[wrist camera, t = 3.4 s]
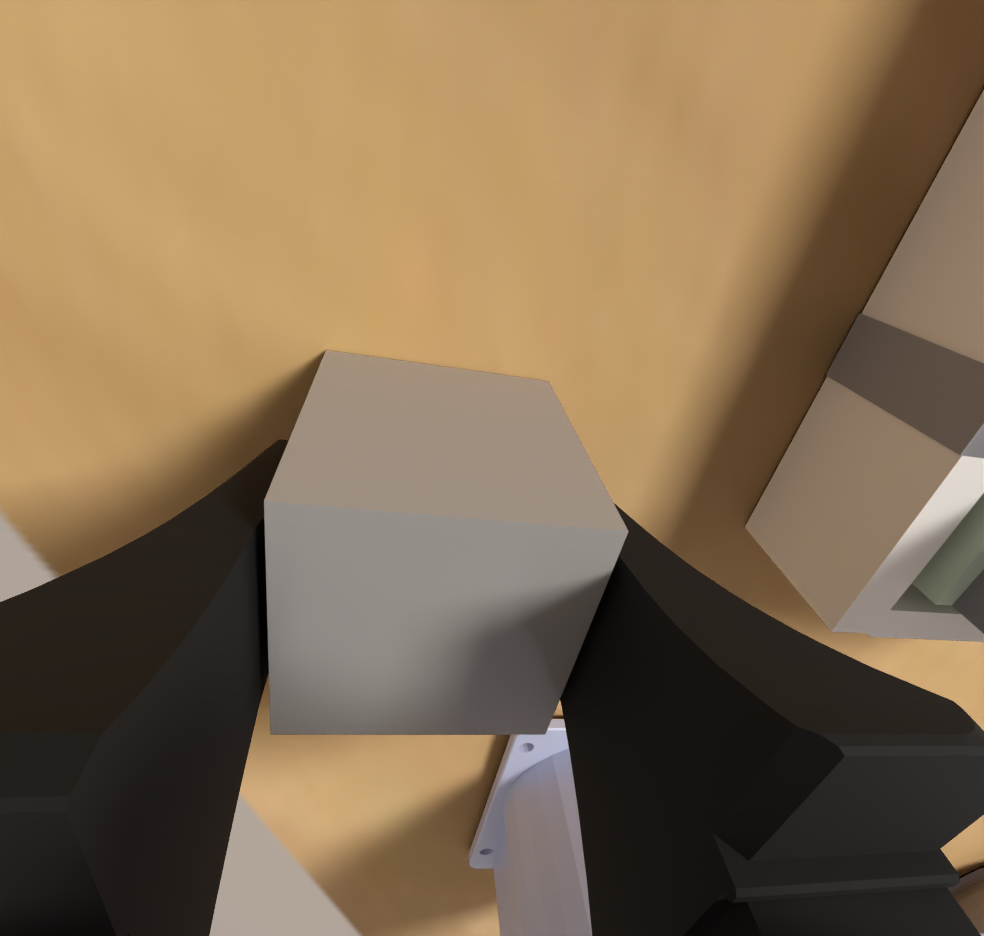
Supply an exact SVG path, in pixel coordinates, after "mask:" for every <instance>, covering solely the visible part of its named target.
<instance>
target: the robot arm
mask: <svg viewBox="0 0 984 936" xmlns="http://www.w3.org/2000/svg"><path fill="white" fill-rule="evenodd" d="M288 441H289V440H278V441H277V442H275V443H274V444H273V445H271V446H270V447H269V448H267V449H266V450H265V451H264V452H263V453H261V454H260V455H259V456H258V457H256V458H255V459H254V460H253V461H251V462H250V463H249V464H248V465H246V466H245V467H244V468H243V469H241V470H240V471H239V472H238V473H236V474H235V475H234V476H232V477H231V478H230V479H228V480H227V481H226V482H224V483H223V484H222V485H220V486H219V487H218V488H216V489H215V490H214V491H212V492H211V493H210V494H208V495H207V496H205V497H204V498H202V499H201V500H199V501H198V502H196V503H195V504H193V505H192V506H190V507H189V508H187V509H186V510H184V511H183V512H181V513H180V514H178V515H177V516H175V517H174V518H172V519H171V520H169V521H168V522H166V523H164V524H163V525H161V526H159V527H158V528H156V529H154V530H152V531H151V532H149V533H147V534H145V535H144V536H142V537H140V538H138V539H136V540H134V541H133V542H131V543H129V544H127V545H125V546H123V547H121V548H119V549H118V550H116V551H114V552H112V553H110V554H108V555H106V556H104V557H102V558H100V559H98V560H96V561H93V562H91V563H89V564H87V565H85V566H82V567H80V568H78V569H76V570H74V571H71V572H69V573H67V574H65V575H63V576H60V577H58V578H56V579H54V580H52V581H50V582H47V583H45V584H43V585H41V586H39V587H36V588H34V589H32V590H29V591H27V592H25V593H22V594H20V595H17V596H15V597H12V598H10V599H7V600H5V601H2V602H0V936H209V934H210V929H211V924H212V919H213V914H214V909H215V904H216V899H217V894H218V889H219V884H220V880H221V875H222V870H223V866H224V860H225V856H226V851H227V847H228V842H229V837H230V832H231V828H232V823H233V818H234V813H235V809H236V805H237V800H238V796H239V791H240V787H241V782H242V778H243V773H244V769H245V764H246V760H247V755H248V751H249V747H250V743H251V738H252V734H253V730H254V725H255V721H256V717H257V712H258V708H259V704H260V700H261V697H262V693H263V690H264V687H265V683H266V680H267V677H268V674H269V659H268V624H267V589H266V554H265V520H264V500H265V497H266V495H267V492H268V490H269V488H270V485H271V483H272V480H273V478H274V475H275V473H276V471H277V468H278V466H279V463H280V461H281V458H282V456H283V453H284V451H285V449H286V446H287V444H288ZM614 505H615V507H616V509H617V511H618V512H619V514H620V516H621V518H622V520H623V522H624V524H625V526H626V527H627V529H628V531H629V532H628V534H627V536H626V539H625V541H624V544H623V546H622V549H621V551H620V554H619V556H618V558H617V561H616V563H615V566H614V568H613V571H612V573H611V576H610V578H609V580H608V583H607V585H606V588H605V590H604V593H603V595H602V598H601V600H600V602H599V605H598V607H597V610H596V612H595V615H594V617H593V620H592V622H591V624H590V627H589V629H588V632H587V634H586V637H585V639H584V642H583V644H582V646H581V649H580V651H579V654H578V656H577V659H576V661H575V664H574V666H573V668H572V671H571V673H570V676H569V678H568V681H567V683H566V685H565V688H564V690H563V693H562V695H561V698H560V701H561V705H562V710H563V716H564V719H552V720H551V722H550V725H549V727H548V729H547V732H546V734H545V735H510V738H509V741H508V744H507V747H506V750H505V752H504V755H503V758H502V761H501V764H500V767H499V769H498V772H497V775H496V778H495V781H494V783H493V786H492V789H491V792H490V795H489V798H488V800H487V803H486V806H485V809H484V812H483V815H482V817H481V820H480V823H479V826H478V829H477V832H476V834H475V837H474V840H473V843H472V846H471V849H470V851H469V854H468V856H469V866H471V867H472V868H474V869H490V868H493V870H494V880H495V890H496V899H497V909H498V918H499V928H500V936H984V932H978V930H977V929H976V928H975V926H974V925H973V923H972V922H971V920H970V919H969V918H968V916H967V915H966V913H965V912H964V910H963V909H962V908H961V906H960V905H959V903H958V902H957V901H956V899H955V898H954V896H953V895H952V893H951V892H950V891H949V889H948V888H947V887H954V886H955V885H956V884H958V883H959V882H960V881H959V874H958V873H957V871H956V870H955V868H954V867H953V866H952V864H951V863H950V862H949V860H948V859H947V857H946V856H945V855H944V853H943V852H942V851H941V849H940V848H942V847H943V846H944V845H945V844H947V843H948V842H949V841H950V840H952V839H953V838H954V837H956V836H957V835H958V834H959V833H961V832H962V831H963V830H964V829H966V828H967V827H968V826H970V825H971V824H972V823H973V822H975V821H976V820H977V819H978V818H980V817H981V816H982V815H984V731H983V730H982V729H981V728H980V727H979V726H978V725H977V723H976V722H975V721H974V720H973V719H972V718H971V717H970V716H969V715H968V714H967V713H966V712H965V711H964V710H963V709H962V708H961V707H960V706H958V705H957V704H956V703H955V702H953V701H951V700H949V699H946V698H944V697H942V696H939V695H937V694H934V693H932V692H930V691H927V690H925V689H922V688H920V687H918V686H915V685H913V684H910V683H908V682H906V681H903V680H901V679H898V678H896V677H894V676H891V675H889V674H886V673H884V672H882V671H879V670H877V669H874V668H872V667H870V666H868V665H865V664H863V663H861V662H859V661H857V660H855V659H853V658H851V657H849V656H846V655H844V654H842V653H840V652H838V651H836V650H834V649H832V648H830V647H828V646H826V645H824V644H821V643H819V642H817V641H815V640H814V639H812V638H810V637H808V636H806V635H804V634H802V633H800V632H798V631H796V630H794V629H792V628H790V627H789V626H787V625H785V624H783V623H782V622H780V621H778V620H776V619H774V618H773V617H771V616H769V615H767V614H766V613H764V612H762V611H760V610H759V609H757V608H755V607H753V606H752V605H750V604H748V603H747V602H745V601H743V600H742V599H740V598H738V597H737V596H735V595H734V594H732V593H730V592H729V591H727V590H726V589H724V588H723V587H721V586H720V585H718V584H717V583H715V582H714V581H712V580H711V579H709V578H708V577H706V576H705V575H703V574H702V573H700V572H699V571H698V570H696V569H695V568H693V567H692V566H691V565H689V564H688V563H686V562H685V561H684V560H682V559H681V558H680V557H679V556H677V555H676V554H675V553H673V552H672V551H671V550H670V549H668V548H667V547H666V546H664V545H663V544H662V543H660V542H659V541H658V540H657V539H656V538H654V537H653V536H652V535H651V534H649V533H648V532H647V531H646V530H645V529H643V528H642V527H641V526H640V525H639V524H637V523H636V522H635V521H634V520H633V519H632V518H630V517H629V516H628V515H627V514H626V513H625V512H624V511H622V510H621V509H620V508H619V507H618V506H617V505H616V504H614Z"/></svg>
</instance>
